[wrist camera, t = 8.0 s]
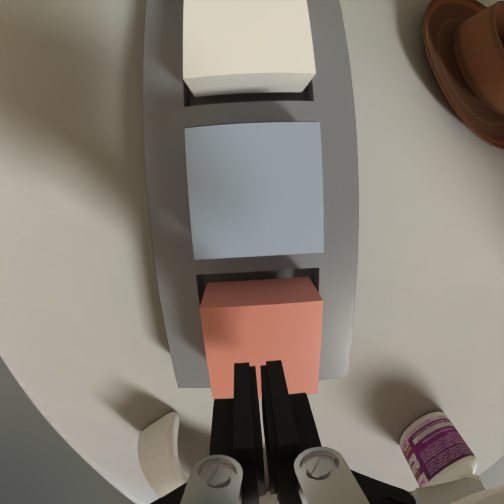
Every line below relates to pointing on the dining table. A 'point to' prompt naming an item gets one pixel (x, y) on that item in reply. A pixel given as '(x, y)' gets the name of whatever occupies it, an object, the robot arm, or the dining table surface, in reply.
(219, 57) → the key white
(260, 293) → the key red
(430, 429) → the pill bottle
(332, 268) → the grey flat tray
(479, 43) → the cup and saucer
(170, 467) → the spoon rest
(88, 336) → the dining table surface
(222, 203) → the key blue
